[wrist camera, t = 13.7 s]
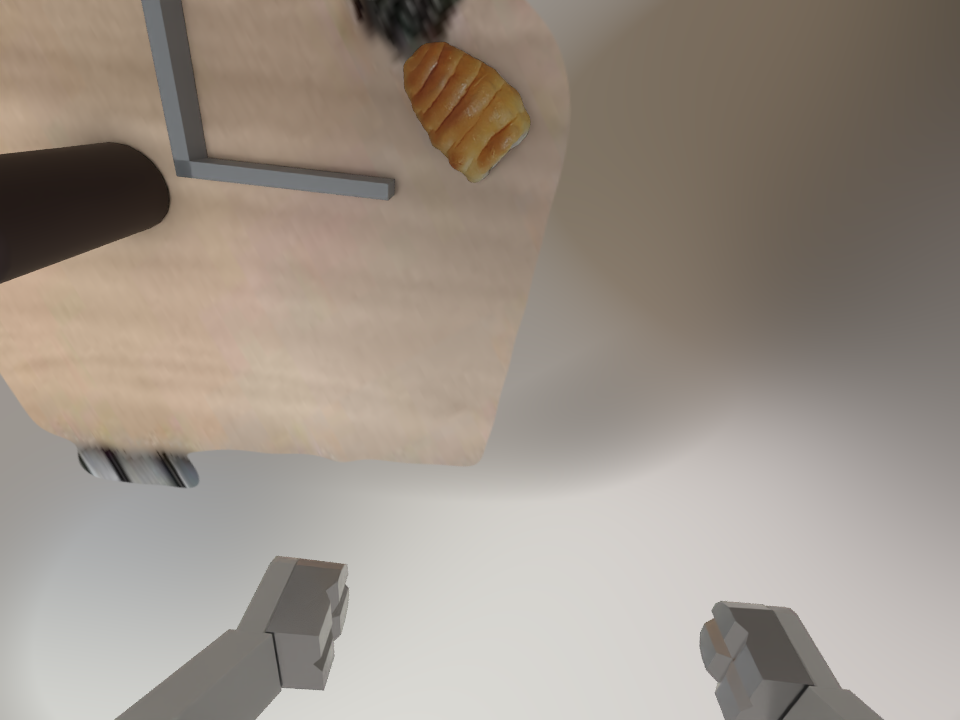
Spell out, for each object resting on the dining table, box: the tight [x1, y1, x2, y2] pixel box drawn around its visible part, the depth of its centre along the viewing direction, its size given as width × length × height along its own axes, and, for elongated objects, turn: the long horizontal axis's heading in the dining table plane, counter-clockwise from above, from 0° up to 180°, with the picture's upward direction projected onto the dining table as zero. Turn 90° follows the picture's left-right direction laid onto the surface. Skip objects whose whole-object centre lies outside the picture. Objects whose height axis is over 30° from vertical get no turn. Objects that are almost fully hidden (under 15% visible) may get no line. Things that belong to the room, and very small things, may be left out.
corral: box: [141, 0, 395, 200], centre depth 32 cm, size 18×16×2 cm
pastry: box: [403, 42, 530, 183], centre depth 33 cm, size 9×7×4 cm
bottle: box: [0, 142, 169, 284], centre depth 30 cm, size 7×7×20 cm
